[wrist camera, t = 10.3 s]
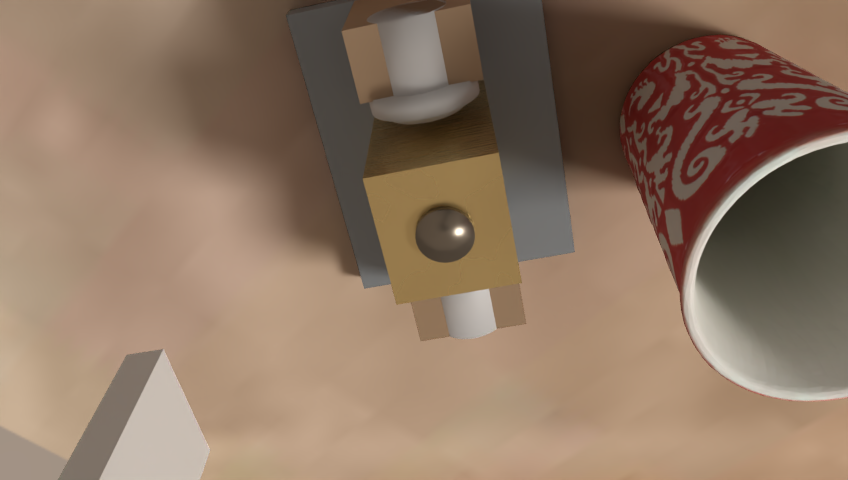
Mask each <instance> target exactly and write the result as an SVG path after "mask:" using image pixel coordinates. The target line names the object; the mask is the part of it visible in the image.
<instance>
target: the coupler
mask: <svg viewBox="0 0 848 480" xmlns="http://www.w3.org/2000/svg"><path fill="white" fill-rule="evenodd" d="M478 84H479V89H480V92H479V95H478V96H477V97H476V98H475V99H474V100H473V101H471V102H470V103H468V104H467V105H465V106H463V108H461V109H460V110H459V111H458V112H456V113H454V114H452V115H450V116H448V117H445V118H442V119H439V120H436V121H432V122H427V123H421V124H398V123H395V122H390V121H383V120H379V119H377V118H375V117H374V122H373V128H372V133H371V138H370V143H369V148H368V154H367V159H366V164H365V169H364V174H363V182H364V186H365V189H366V193H367V197H368V200H369V204H370V208H371V212H372V215H373V219H374V223H375V226H376V230H377V234H378V237H379V241H380V245H381V248H382V252H383V256H384V260H385V263H386V267H387V271H388V274H389V278H390V282H391V285H392V289H393V293H394V297H395V300H396V304H397V305H398V304H403V303H409V302H415V301H421V300H427V299H432V298H438V297H444V296H450V295H455V294H461V293H467V292H473V291H478V290H484V289H490V288H496V287H502V286H507V285H513V284H519V283H522V281H521V276H520V270H519V264H518V259H517V253H516V247H515V242H514V236H513V230H512V225H511V219H510V213H509V208H508V202H507V196H506V191H505V185H504V179H503V174H502V168H501V162H500V157H499V151H498V146H497V142H496V137H495V132H494V127H493V122H492V117H491V112H490V108H489V103H488V98H487V93H486V88H485V83H484V80H480V81H478Z"/></svg>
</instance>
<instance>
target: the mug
mask: <svg viewBox="0 0 848 480" xmlns="http://www.w3.org/2000/svg"><path fill="white" fill-rule="evenodd" d="M620 139H621V144H622V148H623V151H624V154H625V157H626V160H627V162H628V164H629V167H630V169H631V171H632V173H633V176H634V178H635V181H636V184H637V188H638V190H639V192H640V194H641V198H642V200H643V203H644V205H645V208H646V210H647V213H648V216H649V218H650V221H651V223H652V225H653V227H654V230H655V233H656V235H657V238H658V240H659V243H660V245H661V247H662V250H663V252H664V255H665V258H666V261H667V264H668V266H669V268H670V271H671V273H672V276H673V278H674V280H675V283H676V285H677V288H678V290H679V292H680V303H681V311H682V316H683V320H684V324H685V327H686V329H687V332H688V334H689V336H690V338H691V340H692V342H693V344H694V346H695V348H696V349H697V351H698V352H699V353H700V354H701V356H702V358H703V359H704V360H705V361H706V362H707V363H708V365H709V366H710V367H711V368H713V369H714V370H716V371H717V372H718V373H719V374H720V375H721V376H723V377H724V378H726V379H727V380H729V381H730V382H732V383H734V384H736V385H737V386H740V387H742V388H744V389H746V390H748V391H751V392H754V393H757V394H760V395H763V396H767V397H771V398H776V399H782V400H788V401H827V400H836V399H843V398H848V93H847V92H845V91H843V90H841V89H840V88H838V87H836V86H834V85H832V84H831V83H829V82H827V81H825V80H823V79H821V78H819V77H817V76H815V75H814V74H812V73H810V72H808V71H806V70H805V69H803V68H801V67H799V66H797V65H795V64H794V63H792V62H790V61H788V60H786V59H784V58H782V57H780V56H778V55H777V54H775V53H773V52H771V51H769V50H768V49H766V48H764V47H762V46H760V45H758V44H756V43H754V42H751V41H749V40H746V39H743V38H739V37H735V36H729V35H710V36H703V37H698V38H694V39H691V40H688V41H684V42H682V43H680V44H678V45H675V46H674V47H672V48H670V49H668V50H667V51H665V52H664V53H662V54H661V55H659V56H658V57H656V58H655V59H654V60H653V61H651V62H650V63H649V65H648V66H647V67H646V68H645V69H644V70H643V71H642V72H641V73H640V75H639V76H638V77H637V79H636V80H635V81H634V83H633V85H632V86H631V88H630V90H629V92H628V94H627V96H626V99H625V101H624V104H623V108H622V113H621V118H620Z"/></svg>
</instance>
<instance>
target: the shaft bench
mask: <svg viewBox="0 0 848 480" xmlns="http://www.w3.org/2000/svg"><path fill="white" fill-rule="evenodd" d="M286 17H287V21H288V24H289V28H290V31H291V35H292V38H293V41H294V45H295V48H296V52H297V55H298V59H299V62H300V66H301V69H302V73H303V76H304V80H305V83H306V87H307V90H308V94H309V97H310V101H311V104H312V108H313V111H314V115H315V118H316V122H317V125H318V129H319V132H320V136H321V139H322V143H323V146H324V150H325V153H326V157H327V160H328V164H329V167H330V171H331V174H332V178H333V181H334V185H335V188H336V192H337V195H338V199H339V202H340V205H341V209H342V212H343V216H344V219H345V223H346V226H347V230H348V233H349V237H350V240H351V244H352V247H353V251H354V254H355V258H356V261H357V265H358V268H359V272H360V275H361V279H362V282H363V286H364V289H365V288H371V287H376V286H382V285H388V284H391V282H390V278H389V274H388V271H387V267H386V263H385V260H384V256H383V252H382V248H381V245H380V241H379V237H378V234H377V230H376V226H375V223H374V219H373V215H372V212H371V208H370V204H369V200H368V197H367V193H366V189H365V186H364V182H363V174H364V169H365V164H366V159H367V154H368V148H369V143H370V138H371V133H372V128H373V122H374V117H375V118H377V119H379V120H383V121H390V122H395V123H398V124H421V123H427V122H432V121H436V120H439V119H442V118H445V117H448V116H450V115H452V114H454V113H456V112H458V111H459V110H460V109H461V108H463V106H465V105H467V104H468V103H470V102H471V101H473V100H474V99H475V98H476V97H477V96H478V95H479V92H480V89H479V84H478V81H480V80H484V83H485V88H486V93H487V98H488V103H489V108H490V112H491V117H492V122H493V127H494V132H495V137H496V142H497V146H498V151H499V157H500V162H501V168H502V174H503V179H504V185H505V191H506V196H507V202H508V208H509V213H510V219H511V225H512V230H513V236H514V242H515V247H516V253H517V259H518V262H520V261H526V260H532V259H538V258H544V257H549V256H555V255H561V254H567V253H572V252H575V250H574V242H573V235H572V227H571V220H570V212H569V204H568V197H567V189H566V182H565V174H564V166H563V159H562V151H561V144H560V136H559V128H558V121H557V113H556V106H555V98H554V90H553V83H552V75H551V67H550V60H549V52H548V45H547V37H546V29H545V22H544V14H543V7H542V0H335V1H331V2H326V3H321V4H317V5H312V6H307V7H303V8H298V9H293V10H290V11H289V12H288V14H287V15H286ZM411 305H412V309H413V313H414V317H415V321H416V324H417V328H418V332H419V336H420V340H421V341H425V340H431V339H437V338H443V337H449V336H450V337H453V338H458V339H472V338H477V337H481V336H484V335H487V334H489V333H491V332H493V331H494V330H496V329H498V328H504V327H510V326H516V325H522V324H526V319H525V314H524V308H523V302H522V296H521V291H520V285H519V284H513V285H507V286H502V287H496V288H490V289H484V290H478V291H473V292H467V293H461V294H455V295H450V296H444V297H438V298H432V299H427V300H421V301H415V302H411Z"/></svg>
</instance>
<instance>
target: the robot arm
mask: <svg viewBox="0 0 848 480" xmlns="http://www.w3.org/2000/svg"><path fill="white" fill-rule="evenodd" d="M209 452H210V449H209V447H208V445H207V442H206V440H205V438H204V436H203V434H202V432H201V429H200V427H199V425H198V423H197V421H196V419H195V416H194V414H193V412H192V410H191V408H190V406H189V403H188V401H187V399H186V397H185V395H184V393H183V390H182V388H181V386H180V384H179V382H178V380H177V377H176V375H175V373H174V371H173V369H172V367H171V364H170V362H169V360H168V358H167V356H166V354H165V351H164V349H161V350H155V351H149V352H142V353H136V354H130V355H126V357H125V359H124V361H123V363H122V364H121V366H120V368H119V370H118V372H117V374H116V375H115V377H114V379H113V381H112V383H111V384H110V386H109V388H108V390H107V392H106V393H105V395H104V397H103V399H102V401H101V402H100V404H99V406H98V408H97V410H96V412H95V413H94V415H93V417H92V419H91V421H90V422H89V424H88V426H87V428H86V430H85V431H84V433H83V435H82V437H81V439H80V440H79V442H78V444H77V446H76V448H75V450H74V451H73V453H72V455H71V457H70V459H69V460H68V462H67V464H66V466H65V468H64V469H63V471H62V473H61V475H60V477H59V478H58V480H200V478H201V475H202V472H203V470H204V467H205V464H206V461H207V458H208V455H209Z"/></svg>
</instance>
